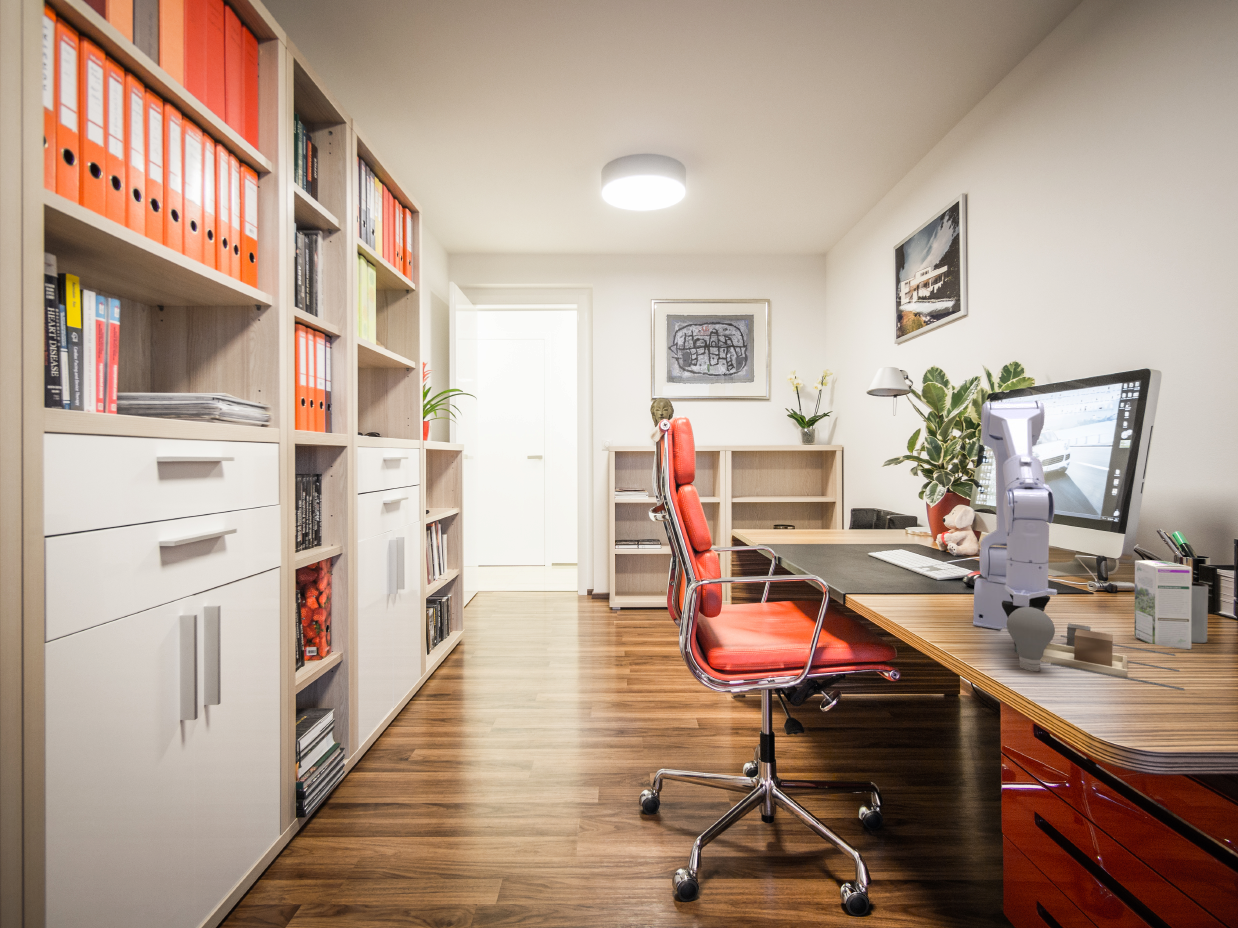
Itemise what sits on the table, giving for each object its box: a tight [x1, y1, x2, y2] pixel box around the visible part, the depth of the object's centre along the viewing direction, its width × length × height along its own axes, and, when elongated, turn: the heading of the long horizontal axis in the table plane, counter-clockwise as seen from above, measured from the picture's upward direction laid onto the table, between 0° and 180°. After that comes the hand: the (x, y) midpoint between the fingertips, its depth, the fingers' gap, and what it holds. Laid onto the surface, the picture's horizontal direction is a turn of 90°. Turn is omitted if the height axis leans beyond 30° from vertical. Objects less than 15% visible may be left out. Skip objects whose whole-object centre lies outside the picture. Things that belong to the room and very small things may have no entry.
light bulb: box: [1006, 607, 1056, 672], centre depth 89 cm, size 6×6×10 cm
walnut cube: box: [1074, 629, 1114, 667], centre depth 91 cm, size 4×4×4 cm
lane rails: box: [1050, 635, 1185, 691], centre depth 93 cm, size 15×20×1 cm
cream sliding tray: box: [1014, 642, 1128, 677], centre depth 93 cm, size 14×8×6 cm, turn 49°
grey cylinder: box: [1191, 581, 1209, 644], centre depth 107 cm, size 4×4×10 cm
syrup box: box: [1133, 559, 1193, 650], centre depth 104 cm, size 6×6×14 cm
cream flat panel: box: [1066, 622, 1091, 647], centre depth 96 cm, size 14×8×4 cm, turn 49°
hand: (1025, 641), depth 97 cm, fingers open, 7 cm apart
